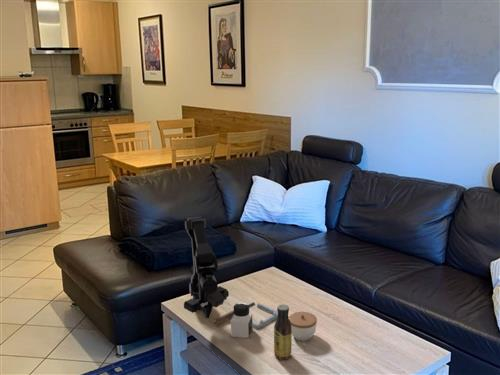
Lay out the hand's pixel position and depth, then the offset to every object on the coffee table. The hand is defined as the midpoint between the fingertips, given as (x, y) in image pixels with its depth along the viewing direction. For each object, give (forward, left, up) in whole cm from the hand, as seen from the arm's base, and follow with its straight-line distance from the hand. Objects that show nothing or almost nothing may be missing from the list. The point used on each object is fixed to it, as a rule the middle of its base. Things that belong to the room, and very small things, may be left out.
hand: (207, 318), depth 194 cm
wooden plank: (0, +11, -5) cm, 12 cm away
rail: (-1, +16, -5) cm, 17 cm away
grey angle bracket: (+7, +20, -5) cm, 22 cm away
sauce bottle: (+34, +6, -5) cm, 35 cm away
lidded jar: (+31, +21, -5) cm, 38 cm away
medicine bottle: (+12, +7, -5) cm, 15 cm away
